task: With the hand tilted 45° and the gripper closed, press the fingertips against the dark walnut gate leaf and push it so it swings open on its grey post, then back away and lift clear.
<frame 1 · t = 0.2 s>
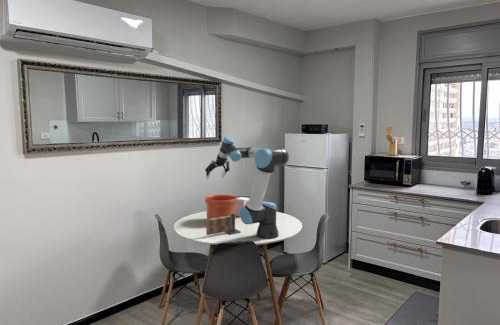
hand: (214, 178, 277), 35 cm above the table, tool tilted 35°, fingers open, 13 cm apart
supplement box: (242, 216, 305), on the table
gate leaf: (218, 225, 250), point 7 cm above the table, hinge at 0.0°
pot: (220, 221, 287), on the table
gate post: (232, 232, 257), on the table
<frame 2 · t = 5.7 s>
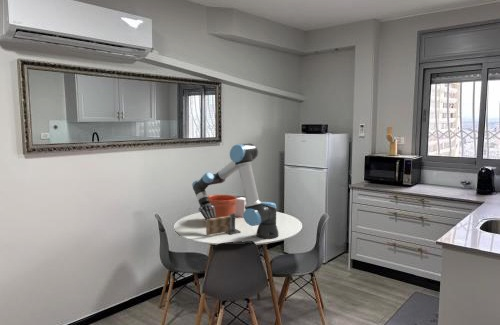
hand: (214, 227, 251), 5 cm above the table, tool tilted 45°, fingers closed
gate leaf: (218, 225, 250), point 7 cm above the table, hinge at 0.0°, touching gripper
everything else where it was.
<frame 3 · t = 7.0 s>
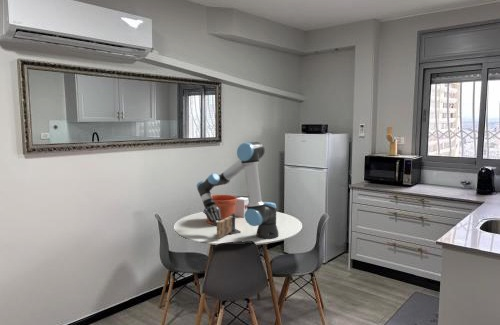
hand: (219, 229, 245), 5 cm above the table, tool tilted 45°, fingers closed
gate leaf: (224, 226, 247), point 7 cm above the table, hinge at 30.2°, touching gripper
everything else where it was.
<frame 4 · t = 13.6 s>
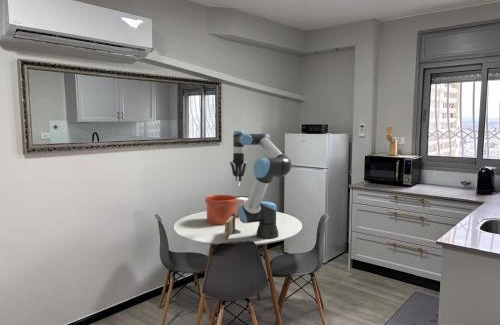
hand: (238, 185, 260), 32 cm above the table, tool pointing down, fingers closed
gate leaf: (229, 227, 246), point 7 cm above the table, hinge at 46.7°
everything else where it was.
at the end: gate leaf at +47° (first picture: +0°) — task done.
